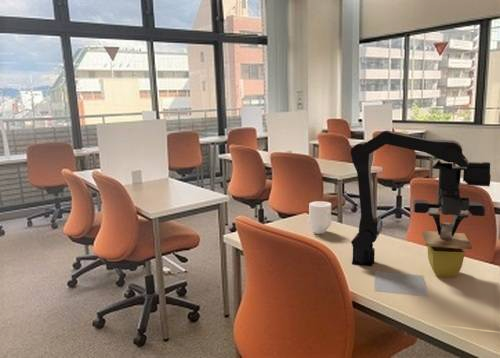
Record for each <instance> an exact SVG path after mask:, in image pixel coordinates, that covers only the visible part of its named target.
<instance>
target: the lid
mask: <svg viewBox="0 0 500 358" xmlns="http://www.w3.org/2000/svg"><path fill="white" fill-rule="evenodd" d="M440 229H441V233H440V235H439V234H438V231H433V230H432V231H429V230H422V231H421V234H422V238H423V241H424V245H425V247H427V246H432V247H445V248H459V249H463V250H473V246H472V244H471V243H470V241H469V239H468V237H467V236H466V234H465V233H464V232H462V233H460V232H455V234H454V236H452V223H451V222H440Z"/></svg>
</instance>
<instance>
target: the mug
mask: <svg viewBox="0 0 500 358" xmlns="http://www.w3.org/2000/svg"><path fill="white" fill-rule="evenodd" d="M308 207H309V208H308V219H309V225H310V227H311V231H312V233H314V234H316V235H323V234H325V233H326V232H327V230H328V229H329V228H330V227H331V224H332V222H333V221H332V219H333V218H332V202H329V201H323V200H319V201H318V200H317V201H311V202H309V204H308Z"/></svg>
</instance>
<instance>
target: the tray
mask: <svg viewBox="0 0 500 358" xmlns="http://www.w3.org/2000/svg"><path fill="white" fill-rule="evenodd" d="M426 285H427V284H426V281H425V277H424V275H421V274H413V273H412V274H411V273H400V272H399V273H398V272H389V271H388V272H387V271H379V270H377V271H376V270H375V271H374V292H382V293H389V294H398V295H400V294H401V295H410V296H419V297H429V294H428V289H427V286H426Z"/></svg>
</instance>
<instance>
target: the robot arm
mask: <svg viewBox="0 0 500 358" xmlns="http://www.w3.org/2000/svg"><path fill="white" fill-rule="evenodd" d="M385 145H388V146H393V147H399V148H403V149H408V150H411V151H416V152H420V153H426V154H428V155H430V156H432V157H434V158H436V159H437V161H436V162H435V163H434V164H433V165H432V167H431V168H432V169H433V170H438V180H437V181H438V182H437V183H438V184H437V198H436V199H437V200H436V201H437V202H436V203H432V202H431V203H430V202H428V199H414V200H412V210H413V212H414V213H417V214H427V215H428V216H430V217H432V219H433V220H434V224H435V227H436V232H438V234H439V235H440V233H441V229H440V226H441V215H440V211H441V214H442V215H444V216H450V215H451V216H452V215H453V217H452V223H451V224H452V236H454V234H455V233H457V230H458V227H459V226H460V224H461V222H462V221H463V220H464V219H465V218H466V219H468V218H469V215H468V213H469V214H471V215H472V216H474V217H475V216H476V217H485V216H486V207H485V206H484V204H482V203H481V202H480V201H470V198H469V197H461V195H460V194H461V193H460V191H461V190H460V189H461V188H460V187H461V178H462V182H464V183H465V184H466V186H472V187H488V188H490V187H491V186H490V185H491V179H492V178H491V177H492V176H491V162H489V161H484V162H482V161H481V162H479V161H477V162H476V161H472V162H471V161H469V160H468V158H467V157H466V156H465V154H463V146H462V145H461V143H460V142H458V141H456V140H452V139H429V138H424V137H423V138H422V137H418V136H414V135H408V134H403V133H398V132H394V131H391V130H389V129H387V130H382V131H381V132H380V133H379V134H378V135H376V136H375V137H373V138H371V139H370V140H368V141H362V142H359V143H357V144H355V145H353V146H352V148H351V149H350V156H351V160H352V165H353V166H354V168H355V171H356V173H357V184H358V185H357V186H358V187H357V188H358V195H359V196H358V198H359V205H360V207H359V208H360V219H359V225H358V232H357V234H355V236H354V238H352V240H351V247H352V260H351V265H354V266H355V265H356V266H365V267H366V266H367V267H373V264H374V263H375V255H376V254H375V253H376V252H375V251H376V250H375V248H374V243H375V242H376V241H377V239H378V238H379V235H380V233H381V231H382V230H383V227H382V217H381V216H380V217H377V215H376V213H375V212H376V211H375V203H374V193H373V191H374V190H373V181H372V165H373V160H374V159H373V158H374V152H375V151H377V150H379V149H380V148H382V147H383V146H385ZM443 161H444V162H443ZM453 164H455V165H453ZM462 171H463V172H462ZM461 173H463V176H462V175H461ZM461 176H462V177H461Z"/></svg>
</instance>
